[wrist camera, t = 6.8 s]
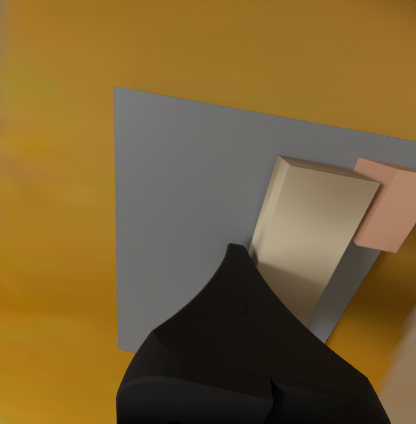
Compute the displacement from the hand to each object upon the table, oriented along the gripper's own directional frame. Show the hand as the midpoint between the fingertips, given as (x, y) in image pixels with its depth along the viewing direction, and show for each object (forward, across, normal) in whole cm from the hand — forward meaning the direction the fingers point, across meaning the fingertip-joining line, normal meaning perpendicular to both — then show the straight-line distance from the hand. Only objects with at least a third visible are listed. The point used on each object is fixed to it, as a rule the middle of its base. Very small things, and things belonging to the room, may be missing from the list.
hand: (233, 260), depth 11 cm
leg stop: (+1, -5, -4) cm, 7 cm away
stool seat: (+2, 0, +2) cm, 3 cm away
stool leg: (+1, -2, +3) cm, 4 cm away
